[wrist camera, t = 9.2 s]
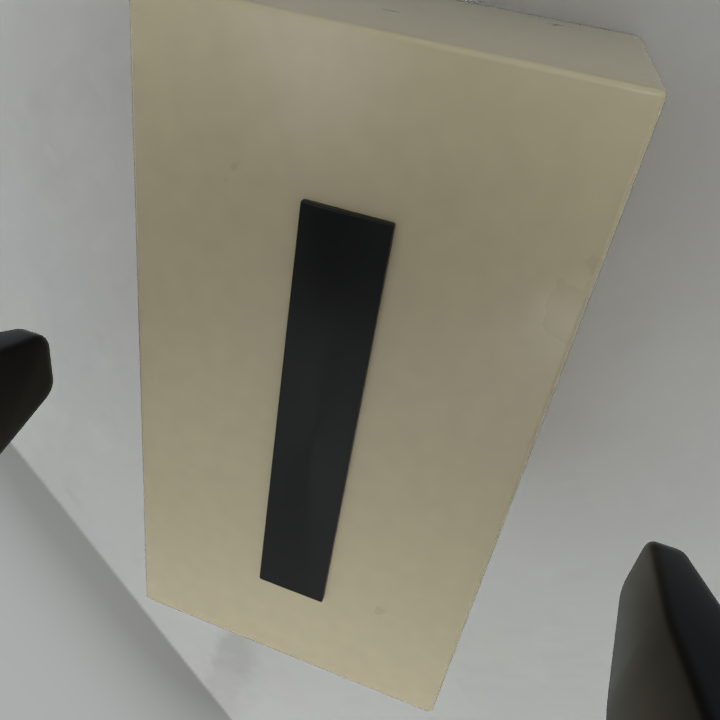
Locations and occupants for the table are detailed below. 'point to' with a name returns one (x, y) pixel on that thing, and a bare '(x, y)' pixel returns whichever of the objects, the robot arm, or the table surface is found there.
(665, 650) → the robot arm
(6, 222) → the table surface
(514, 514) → the table surface
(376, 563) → the toaster
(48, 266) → the table surface
